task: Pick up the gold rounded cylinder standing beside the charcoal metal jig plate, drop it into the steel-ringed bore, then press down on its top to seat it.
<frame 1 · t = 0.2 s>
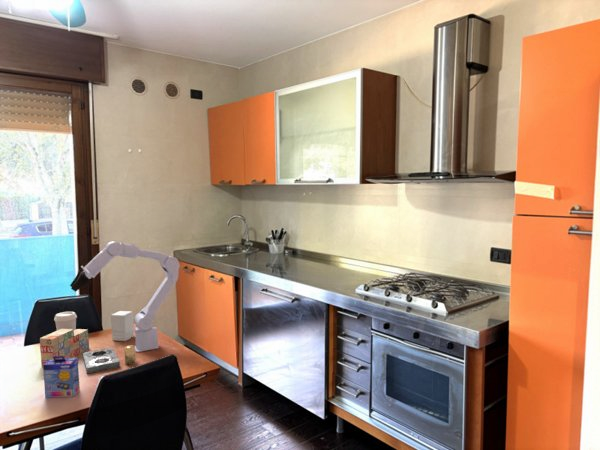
hand: (72, 288, 183), 31 cm above the table, tool tilted 45°, fingers open, 7 cm apart
stack of blocks: (66, 358, 190), on the table
gold rounded cylinder: (130, 363, 183), on the table
coffee cup: (67, 345, 205), on the table
jig plate: (100, 362, 183), on the table
supplement box: (123, 338, 214), on the table
ink cartridge box: (62, 394, 155), on the table
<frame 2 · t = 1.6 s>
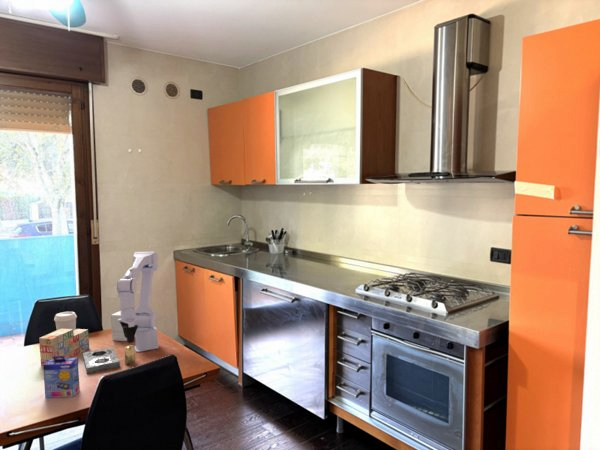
hand: (129, 339, 182), 10 cm above the table, tool pointing down, fingers open, 7 cm apart
nothing on the table moved.
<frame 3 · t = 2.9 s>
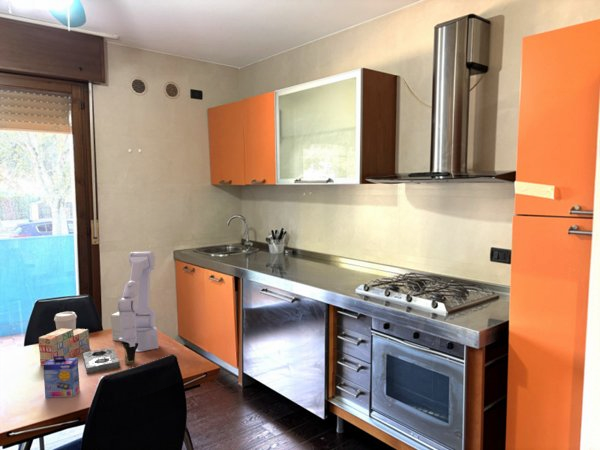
hand: (130, 358, 182), 2 cm above the table, tool pointing down, fingers closed on gold rounded cylinder, 4 cm apart
gold rounded cylinder: (130, 363, 183), on the table, touching gripper
everything else where it was.
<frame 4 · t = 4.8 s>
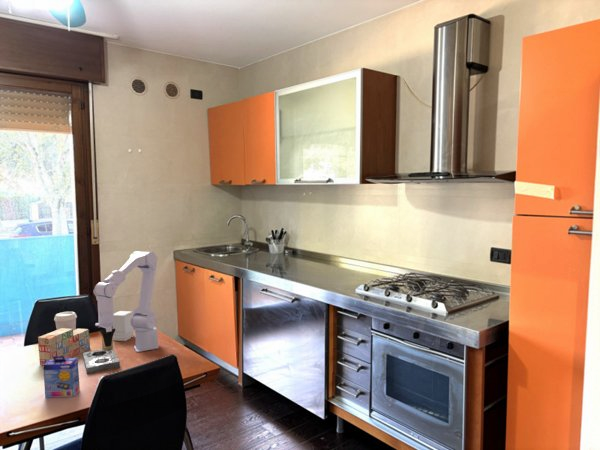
hand: (107, 344, 179), 9 cm above the table, tool pointing down, fingers closed on gold rounded cylinder, 4 cm apart
gold rounded cylinder: (107, 349, 179), point 7 cm above the table, touching gripper
when the fingers open (4 cm above the table, at t = 6.4 s): gold rounded cylinder drops 2 cm, resting in jig plate.
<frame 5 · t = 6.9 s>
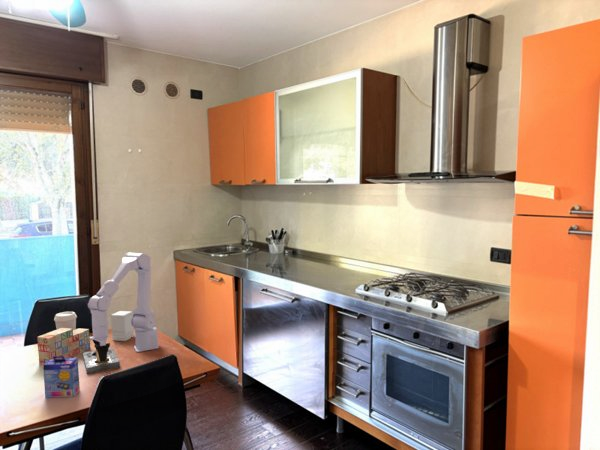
hand: (101, 357, 179), 4 cm above the table, tool pointing down, fingers open, 7 cm apart
gold rounded cylinder: (102, 366, 179), resting in jig plate
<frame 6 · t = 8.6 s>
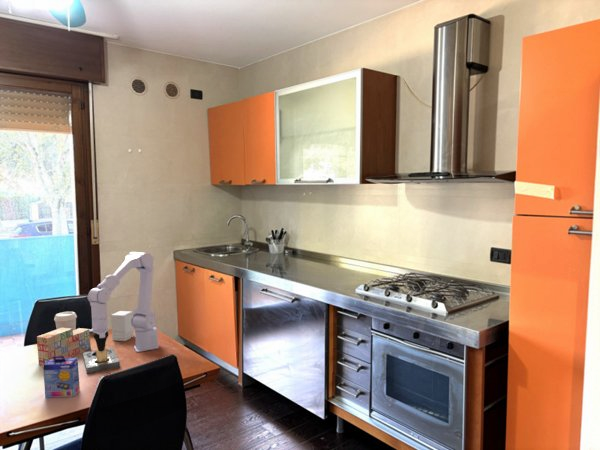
hand: (101, 350, 179), 7 cm above the table, tool pointing down, fingers closed, pressing on gold rounded cylinder
gold rounded cylinder: (102, 366, 179), resting in jig plate, touching gripper
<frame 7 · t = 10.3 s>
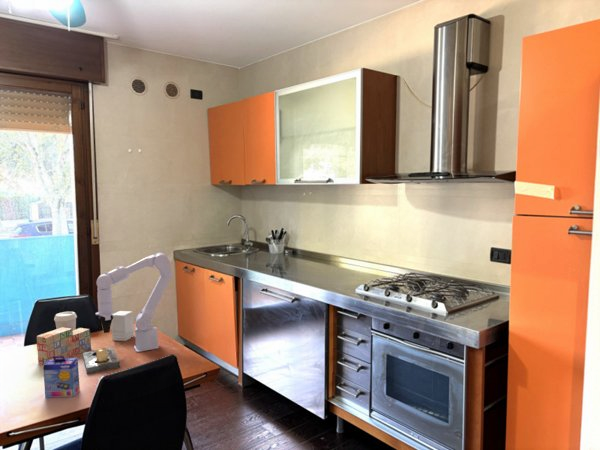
hand: (106, 332, 194), 9 cm above the table, tool pointing down, fingers closed
gold rounded cylinder: (102, 366, 179), resting in jig plate
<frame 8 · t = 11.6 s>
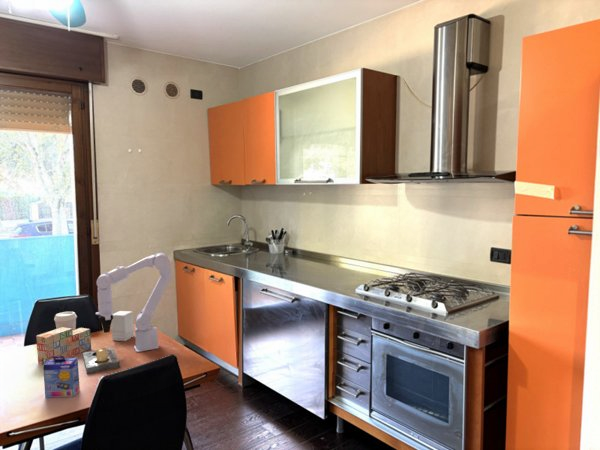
hand: (106, 332, 194), 9 cm above the table, tool pointing down, fingers closed
at the end: gold rounded cylinder 0.1 cm from the target spot on the jig plate, point 0.0 cm above the jig plate's base; gold rounded cylinder tilted 0°; the gripper is holding nothing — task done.
